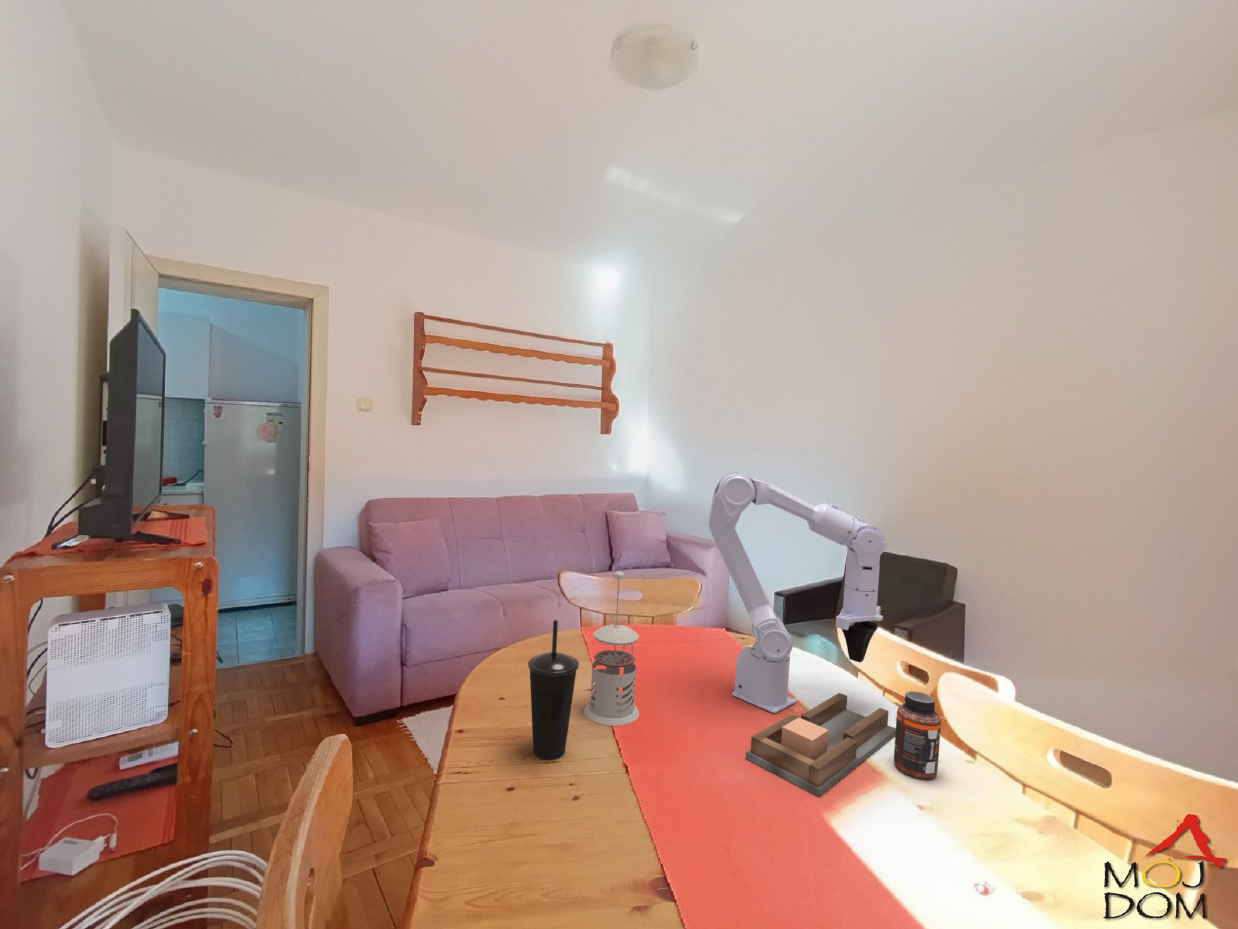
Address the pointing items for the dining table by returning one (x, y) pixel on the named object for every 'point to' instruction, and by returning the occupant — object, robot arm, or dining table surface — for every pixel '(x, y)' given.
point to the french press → (613, 676)
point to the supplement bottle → (917, 736)
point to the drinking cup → (551, 699)
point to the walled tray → (846, 745)
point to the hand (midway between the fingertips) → (856, 660)
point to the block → (805, 738)
